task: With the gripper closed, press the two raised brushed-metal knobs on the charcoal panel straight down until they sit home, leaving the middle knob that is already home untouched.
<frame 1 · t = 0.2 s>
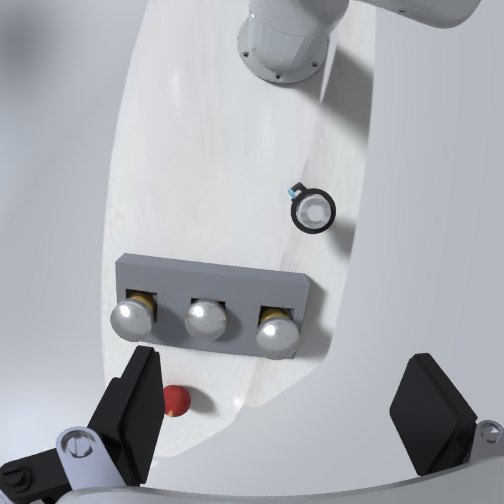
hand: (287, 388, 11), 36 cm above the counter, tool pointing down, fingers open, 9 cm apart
knob panel: (210, 302, 50), on the counter
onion: (178, 386, 55), on the counter
knob 1: (136, 313, 43), point 6 cm above the counter, slide at 0.0 cm
knob middle: (207, 313, 46), point 4 cm above the counter, slide at 3.0 cm
knob 2: (276, 330, 44), point 6 cm above the counter, slide at 0.0 cm
push button: (303, 203, 45), on the counter
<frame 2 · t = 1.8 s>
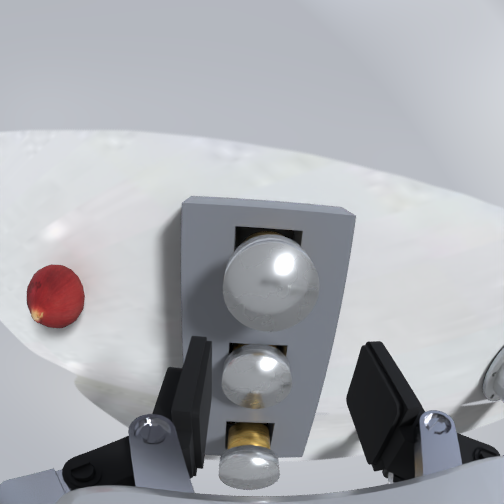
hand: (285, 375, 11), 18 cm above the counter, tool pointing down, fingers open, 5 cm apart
knob panel: (255, 343, 31), on the counter
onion: (74, 280, 29), on the counter
knob 1: (268, 272, 22), point 6 cm above the counter, slide at 0.0 cm
knob middle: (256, 363, 28), point 3 cm above the counter, slide at 3.0 cm
knob 2: (249, 454, 28), point 6 cm above the counter, slide at 0.0 cm
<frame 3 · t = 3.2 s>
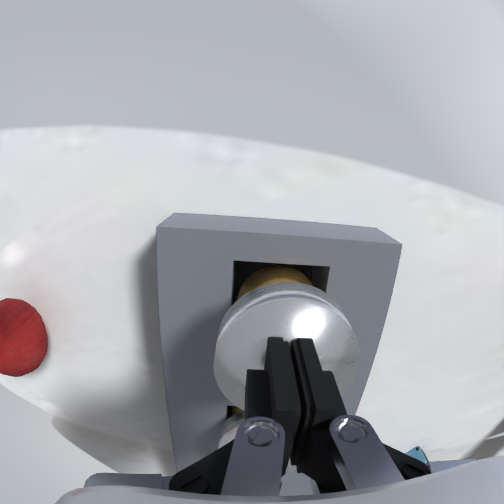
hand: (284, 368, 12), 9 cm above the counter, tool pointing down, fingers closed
knob panel: (260, 395, 24), on the counter
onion: (38, 314, 22), on the counter
knob 1: (281, 330, 15), point 6 cm above the counter, slide at 0.1 cm, touching gripper
knob middle: (261, 426, 20), point 4 cm above the counter, slide at 3.0 cm
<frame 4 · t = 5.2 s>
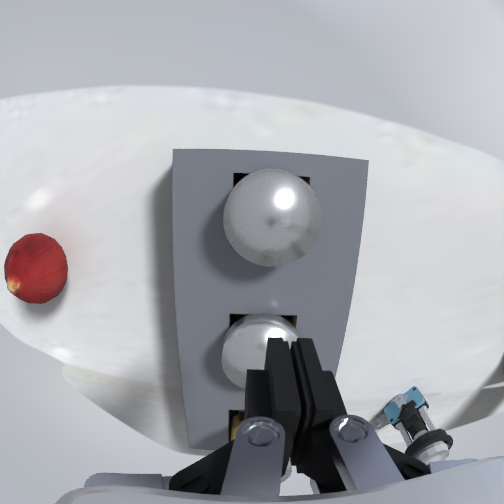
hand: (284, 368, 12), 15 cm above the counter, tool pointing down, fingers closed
knob panel: (259, 318, 28), on the counter
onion: (58, 254, 26), on the counter
knob 1: (269, 210, 22), point 3 cm above the counter, slide at 3.0 cm
knob middle: (261, 339, 24), point 3 cm above the counter, slide at 3.0 cm
knob 2: (255, 447, 24), point 7 cm above the counter, slide at 0.0 cm
push button: (396, 402, 32), on the counter
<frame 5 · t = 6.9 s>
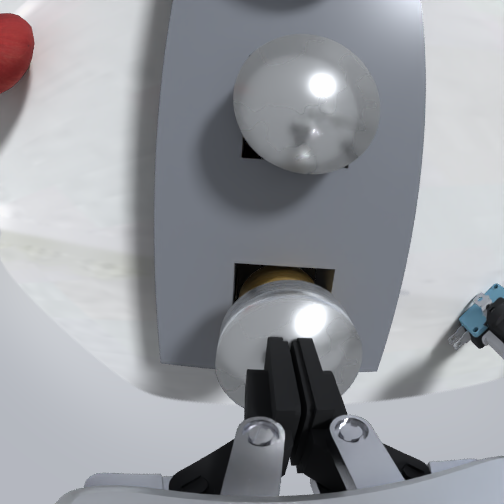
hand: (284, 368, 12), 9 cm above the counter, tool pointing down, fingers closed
knob panel: (289, 119, 17), on the counter
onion: (27, 63, 16), on the counter
knob middle: (298, 110, 14), point 4 cm above the counter, slide at 3.0 cm
knob 2: (283, 329, 15), point 6 cm above the counter, slide at 0.8 cm, touching gripper
push button: (473, 311, 21), on the counter
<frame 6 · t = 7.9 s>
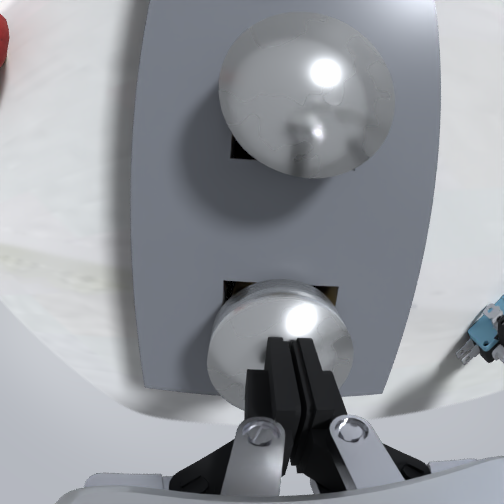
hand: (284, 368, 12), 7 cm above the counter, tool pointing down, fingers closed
knob panel: (286, 114, 15), on the counter
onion: (3, 59, 13), on the counter
knob middle: (297, 103, 12), point 4 cm above the counter, slide at 3.0 cm
knob 2: (275, 328, 15), point 3 cm above the counter, slide at 3.1 cm
push button: (482, 322, 19), on the counter
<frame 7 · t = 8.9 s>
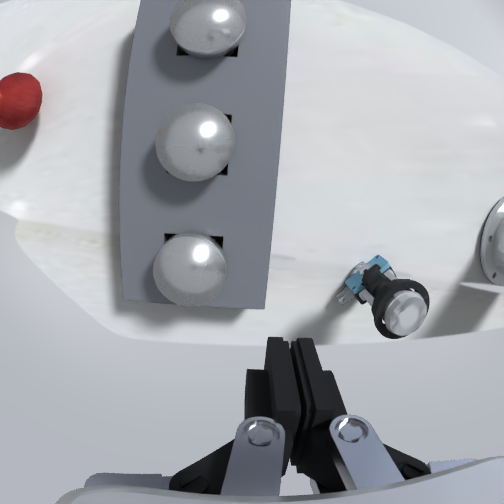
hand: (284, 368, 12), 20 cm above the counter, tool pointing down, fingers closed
knob panel: (202, 144, 28), on the counter
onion: (35, 104, 25), on the counter
knob 1: (210, 32, 22), point 3 cm above the counter, slide at 3.0 cm
knob middle: (198, 143, 25), point 4 cm above the counter, slide at 3.0 cm
knob 2: (193, 261, 28), point 3 cm above the counter, slide at 3.1 cm
push button: (359, 276, 33), on the counter
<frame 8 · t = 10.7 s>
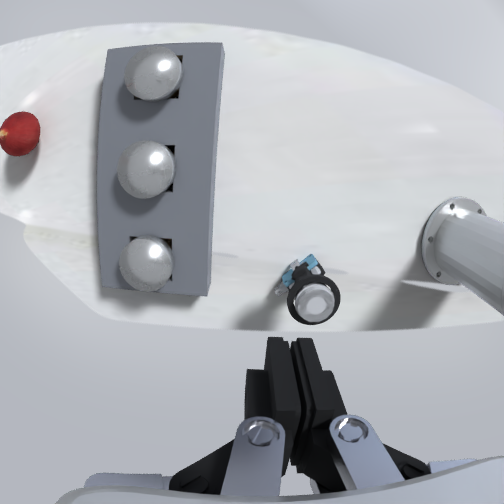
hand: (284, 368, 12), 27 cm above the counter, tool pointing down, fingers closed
knob panel: (160, 166, 36), on the counter
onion: (36, 134, 34), on the counter
knob 1: (159, 78, 29), point 3 cm above the counter, slide at 3.0 cm
knob middle: (152, 168, 32), point 4 cm above the counter, slide at 3.0 cm
knob 2: (151, 257, 35), point 3 cm above the counter, slide at 3.1 cm
push button: (296, 272, 40), on the counter
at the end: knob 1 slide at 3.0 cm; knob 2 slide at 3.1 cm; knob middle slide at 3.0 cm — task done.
